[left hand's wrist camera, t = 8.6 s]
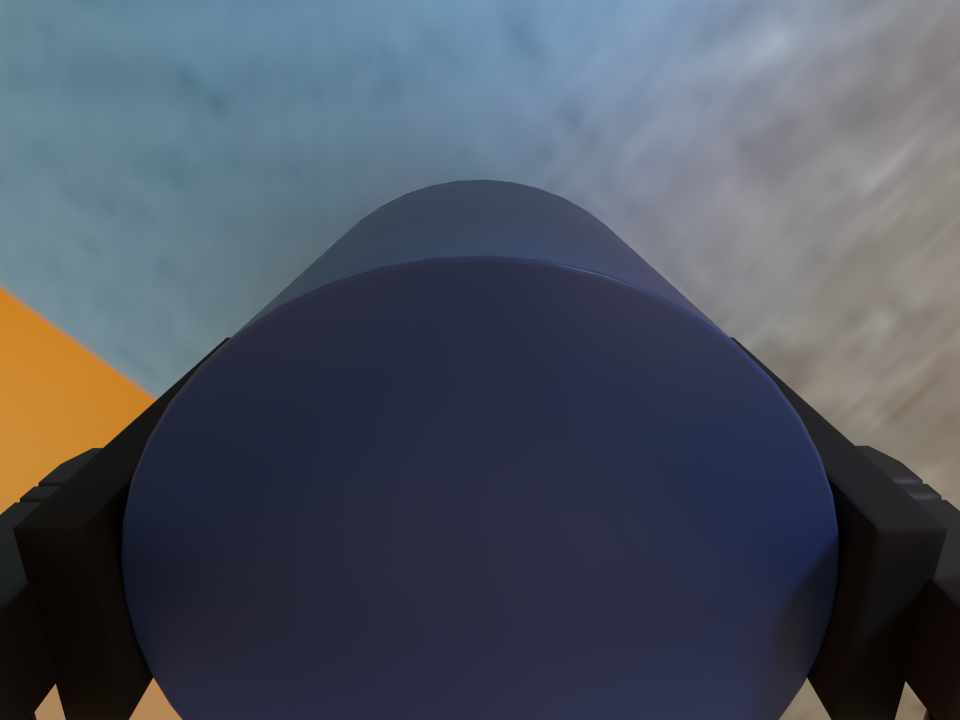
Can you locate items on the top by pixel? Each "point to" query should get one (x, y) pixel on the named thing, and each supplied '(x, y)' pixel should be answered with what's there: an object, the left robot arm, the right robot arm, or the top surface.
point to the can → (480, 490)
